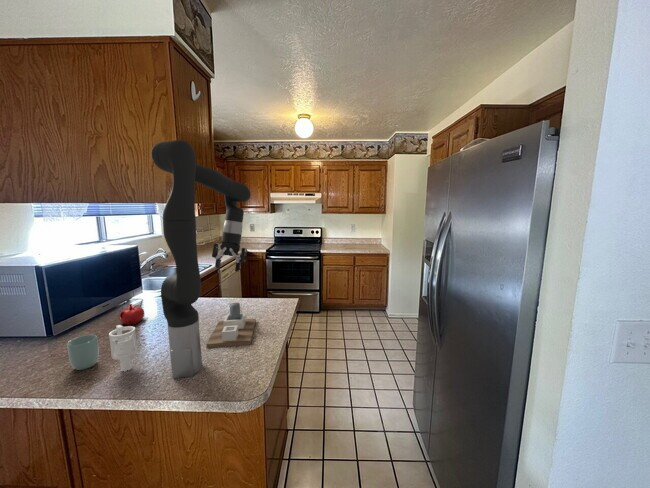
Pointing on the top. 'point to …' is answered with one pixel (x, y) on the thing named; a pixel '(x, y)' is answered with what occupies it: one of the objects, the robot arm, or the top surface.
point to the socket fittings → (232, 327)
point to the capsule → (235, 311)
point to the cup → (83, 351)
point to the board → (242, 339)
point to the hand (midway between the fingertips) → (227, 269)
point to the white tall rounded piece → (123, 346)
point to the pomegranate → (131, 315)
